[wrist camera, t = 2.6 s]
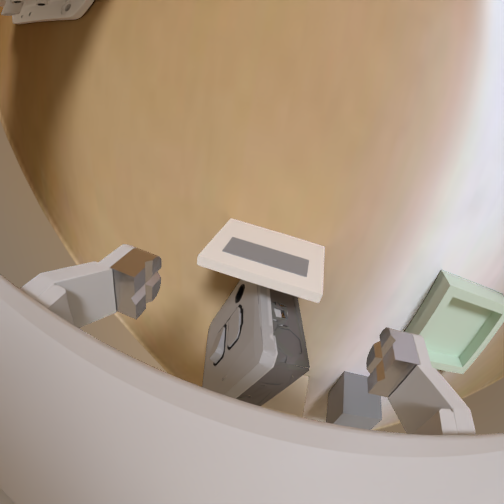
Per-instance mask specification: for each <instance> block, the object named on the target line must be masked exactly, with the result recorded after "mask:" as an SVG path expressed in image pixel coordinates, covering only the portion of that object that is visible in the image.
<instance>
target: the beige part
mask: <svg viewBox="0 0 504 504" xmlns="http://www.w3.org/2000/svg"><path fill="white" fill-rule="evenodd" d="M308 379H309V376H306V375H302V376H301V377H300V378H299V379H297V380H296V381H295V382H293V383H292V384H291V385H289V386H288V387H287V388H285V389H284V390H283V391H281V392H280V393H279V394H277V395H276V396H274V397H273V398H272V399H270V400H269V401H267V402H266V403H265V404H263V405H262V406H261V407H264V408H268V409H271V410H275V411H279V412H282V413H286V414H290V415H294V416H299V417H303V412H304V406H305V399H306V393H307V386H308Z"/></svg>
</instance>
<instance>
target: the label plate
mask: <svg viewBox="0 0 504 504" xmlns="http://www.w3.org/2000/svg"><path fill="white" fill-rule="evenodd" d="M324 254H325V246H322V245H318V244H315V243H312V242H309V241H306V240H302V239H299V238H296V237H293V236H289V235H286V234H283V233H279V232H276V231H273V230H269V229H266V228H263V227H259V226H256V225H252V224H249V223H246V222H242V221H239V220H235V219H232V218H231V219H230V220H229V221H228V222H227V223H226V224H225V225H224V227H223V228H222V229H221V230H220V231H219V232H218V233H217V234H216V236H215V237H214V238H213V239H212V240H211V241H210V242H209V243H208V245H207V246H206V247H205V248H204V249H203V250H202V251H201V253H200V254H199V255H198V259H197V265H199V266H202V267H205V268H208V269H211V270H214V271H217V272H220V273H223V274H227V275H230V276H233V277H236V278H239V279H242V280H245V281H248V282H251V283H255V284H258V285H261V286H264V287H267V288H270V289H274V290H277V291H280V292H283V293H287V294H290V295H293V296H296V297H300V298H303V299H306V300H310V301H313V302H316V303H319V302H320V299H321V297H322V295H323V278H324Z"/></svg>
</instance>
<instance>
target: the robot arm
mask: <svg viewBox="0 0 504 504" xmlns="http://www.w3.org/2000/svg"><path fill="white" fill-rule="evenodd" d="M93 2H94V0H0V6H4V7H3V10H2V15H4V16H10V15H12V19H13V23H14V24H25V23H33V22H42V21H55V20H75V19H78V18H80V17H81V16H82V15H83V14H84V13H85V12H86V11H87V10H88V8H89V7H90V6H91V4H92V3H93ZM160 268H161V258H160V257H159V256H157V255H154V254H152V253H149V252H147V251H144V250H141V249H139V248H136V247H133V246H131V245H128V244H122V245H121V246H120V247H118V248H117V249H116V250H114V251H113V252H112V253H110V254H109V255H108V256H106V257H105V258H104V259H102V260H101V261H100V262H98V263H97V262H90V263H85V264H80V265H76V266H71V267H66V268H61V269H57V270H52V271H48V272H43V273H40V274H38V275H37V276H36V277H34V278H33V279H32V280H30V281H29V282H28V283H26V284H25V285H24V286H22V287H21V288H20V289H19V288H18V287H16V286H15V285H14V284H12V283H11V282H10V281H8V280H7V279H5V277H3V276H2V275H1V274H0V504H504V433H497V434H483V435H476V433H475V428H474V423H473V419H472V415H471V411H470V409H469V408H468V407H467V405H466V404H465V403H464V402H463V400H462V399H461V398H460V397H459V396H458V394H457V393H456V392H455V391H454V390H453V388H452V387H451V386H450V385H449V384H448V382H447V381H446V380H445V379H444V378H443V377H442V375H441V374H440V373H439V372H438V371H437V370H436V369H435V368H432V365H431V362H430V358H429V355H428V351H427V348H426V344H425V341H424V338H423V337H422V336H421V335H417V334H413V333H407V332H403V331H399V330H395V329H391V328H387V327H386V328H385V329H384V330H383V331H382V333H381V334H380V341H379V342H377V343H375V344H374V345H373V346H372V348H371V350H370V352H369V354H368V357H367V363H366V364H367V370H368V371H369V373H370V376H369V377H368V378H367V383H368V393H369V394H374V395H379V396H384V397H389V398H388V400H389V402H390V403H391V405H392V407H393V409H394V411H395V413H396V414H397V416H398V418H399V420H400V422H401V424H402V425H403V427H404V429H405V431H406V433H407V434H405V433H394V432H393V433H392V432H384V431H376V430H368V429H361V428H354V427H348V426H342V425H337V424H331V423H326V422H321V421H316V420H312V419H307V418H303V417H299V416H294V415H290V414H286V413H282V412H279V411H275V410H271V409H268V408H264V407H261V406H257V405H254V404H250V403H247V402H244V401H241V400H238V399H235V398H232V397H229V396H226V395H223V394H220V393H217V392H214V391H211V390H209V389H206V388H203V387H201V386H198V385H195V384H193V383H190V382H188V381H185V380H183V379H180V378H178V377H176V376H173V375H171V374H168V373H166V372H164V371H161V370H159V369H157V368H155V367H153V366H150V365H148V364H146V363H144V362H142V361H140V360H138V359H135V358H133V357H131V356H129V355H127V354H125V353H123V352H121V351H119V350H117V349H115V348H114V347H112V346H110V345H108V344H106V343H104V342H102V341H100V340H99V339H97V338H95V337H93V336H91V335H90V334H88V333H86V332H85V331H83V330H81V329H79V328H80V327H82V326H85V325H87V324H90V323H92V322H94V321H97V320H99V319H102V318H104V317H106V316H109V315H111V314H114V313H116V312H117V311H118V312H120V313H122V314H125V315H127V316H129V317H132V318H134V319H137V318H138V317H139V316H140V315H141V314H142V312H143V311H144V310H145V309H146V303H148V302H151V301H153V300H154V298H155V297H156V296H157V293H158V291H159V289H160V284H161V277H160V275H159V273H158V270H159V269H160Z"/></svg>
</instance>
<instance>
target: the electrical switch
mask: <svg viewBox="0 0 504 504" xmlns="http://www.w3.org/2000/svg"><path fill="white" fill-rule="evenodd" d="M280 304H281V305H283V306H285V307H283V306H280ZM283 312H284V315H285V318H282V316H281V314H282V313H283ZM296 365H297V366H296ZM300 366H302V367H300ZM305 367H308V368H305ZM309 368H310V366H309V360H308V354H307V348H306V342H305V337H304V331H303V325H302V320H301V314H300V309H299V303H298V298H297V297H296V296H293V295H290V294H287V293H283V292H280V291H277V290H274V289H270V288H267V287H264V286H261V285H258V284H255V283H251V282H248V281H245V280H242V279H241V280H240V281H239V283H238V284H237V286H236V287H235V289H234V290H233V292H232V293H231V295H230V296H229V297H228V299H227V300H226V302H225V303H224V305H223V306H222V308H221V309H220V311H219V312H218V313H217V315H216V316H215V318H214V319H213V321H212V322H211V324H210V327H209V331H208V339H207V347H206V356H205V366H204V376H203V386H202V387H203V388H206V389H209V390H211V391H214V392H217V393H220V394H223V395H226V396H229V397H232V398H235V399H238V400H241V401H244V402H247V403H250V404H254V405H257V406H262V405H263V404H265V403H266V402H267V401H269V400H270V399H272V398H273V397H274V396H276V395H277V394H279V393H280V392H281V391H283V390H284V389H285V388H287V387H288V386H289V385H291V384H292V383H293V382H295V381H296V380H297V379H299V378H300V377H301V376H302V375H304V374H305V373H306V372H308V371H309Z"/></svg>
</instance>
